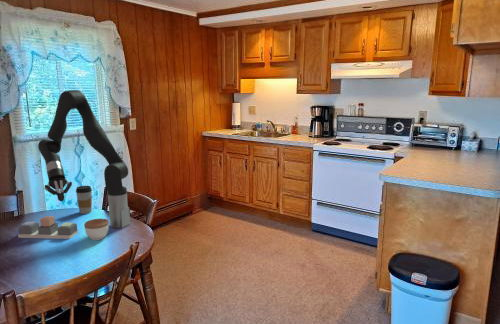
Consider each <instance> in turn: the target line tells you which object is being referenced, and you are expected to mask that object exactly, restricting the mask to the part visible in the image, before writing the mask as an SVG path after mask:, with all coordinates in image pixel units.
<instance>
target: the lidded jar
mask: <svg viewBox="0 0 500 324" xmlns="http://www.w3.org/2000/svg"><path fill="white" fill-rule="evenodd" d="M109 227H110V220H109V219H106V218H94V219H89V220H87V221H86V222H84V230H85V234H86V236H87V237H88V238H90V240H91V241H100V240H102V239H104V238H105V237H106V235H107V234H108V232H109Z"/></svg>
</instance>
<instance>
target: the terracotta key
mask: <svg viewBox="0 0 500 324" xmlns="http://www.w3.org/2000/svg"><path fill="white" fill-rule="evenodd" d="M55 220H56V219H55V216H54V215H53V216H50V215H45V216H43V217H41V218H40V219H39V226H48V227H50V226H51V225H53V224H54V223H56V221H55Z"/></svg>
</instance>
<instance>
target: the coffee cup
mask: <svg viewBox="0 0 500 324" xmlns="http://www.w3.org/2000/svg"><path fill="white" fill-rule="evenodd" d="M92 191H93V190H92V187H91V186H90V185H80V186H77V187H76V190H75V194H76V200H77V206H78V207H77V208H78V211H79V213H80V214H82V215H85V214H90V213H91V212H92V211H93V210H92V208H93V207H92V204H93V203H92V201H93V200H92V199H93V197H92Z"/></svg>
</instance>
